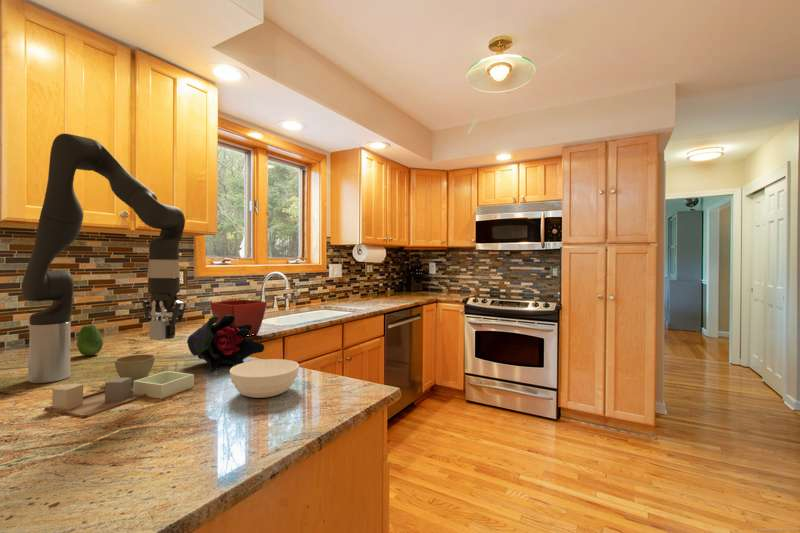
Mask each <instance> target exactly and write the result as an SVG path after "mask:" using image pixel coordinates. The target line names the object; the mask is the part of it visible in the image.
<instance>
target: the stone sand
mask: <svg viewBox="0 0 800 533" xmlns="http://www.w3.org/2000/svg"><path fill="white" fill-rule="evenodd" d="M51 391H52V401H51V403H52V404H51V406H52V408H56V409H62V410H70V409H73V408H75V407H78V406H81V405H83V396H84V384H80V383H79V384H78V383H67V384H63V385H61V386H58V387H55V388H52V390H51Z"/></svg>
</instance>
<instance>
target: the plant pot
mask: <svg viewBox="0 0 800 533" xmlns="http://www.w3.org/2000/svg"><path fill="white" fill-rule="evenodd" d="M210 308H211V313H212V316H214V315H215V314H216V315H217V316H218V317H219V318H218V320H216V322H215V323H214V324H216V323H217V322H219V321H220V320H221V319H222V317H223V316H224V315H233V316H235V318H234V321H233V322H232V324H231V326H243V325H250V326H252V328H251V330H249V334H248V335H252V334H257V335H258V334H259V331H260V329H261V326H262V323H263V320H264V316H265V312H266V308H267V301H262V300H261V301H260V300H252V299H238V300H237V299H236V300H234V299H233V300H225V301H222V300H221V301H214V302H210Z"/></svg>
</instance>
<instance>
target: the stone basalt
mask: <svg viewBox="0 0 800 533" xmlns="http://www.w3.org/2000/svg"><path fill="white" fill-rule="evenodd" d="M104 390H105V402H122V401H124V400H126V399H128V398H129V397H131V394H132V390H133V383H132V378H120V377H114V378H112V379H110V380H108V381H106V382H104Z"/></svg>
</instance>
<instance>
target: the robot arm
mask: <svg viewBox="0 0 800 533" xmlns="http://www.w3.org/2000/svg"><path fill="white" fill-rule="evenodd" d="M49 153H50V154H49V164H48V176H47V177H48V178H47V184H46V190H45V193H44V199H43V203H42V207H41V211H40V214H39V218H38V223H37V230H36V233H35V234H36V235H35V240H34V244H33V249H32V252H31V254H30V255H31V256H30V258H29V260H28V264H27V266H26V269H25V272H24V274H23V279H22V283H21V294H22V297H23V299H24V300H26V301H28V302H48V301H52V303H51V305H49V306H48V307H46V308H44V309H42V310H41V311H37V312H35V313H32V314H31V315H30V316H29V332H28V333H29V348H28V354H27V355H28V362H27V363H28V366H27V367H28V373H27V374H28V375H27V376H28V379H27V380H28V383H30V384H45V383H52V382H57V381H61V380H62V381H63V380H65V379H68V378H70V376H71V335H72V334H71V328H72V327H71V324H72V323H71V322H72V321H71V320H72V319H71V317H72V313H73V298H74V289H75V288H74V287H75V286H74V278H73V275H72V274H71V272H70V271H67V270H60V269H59V270H52V269H51V270H49V267H50V265H51V264H52V262H53V261H54V259H55V258H57V256H59V255H60V254H61V253H62V252H64V250H65V249H67V248H68V247H69V246H71V245H72V244H73V243H74V242H75V241H76V240H77V238H78V237H79V235H80V233H81V229H82V225H83V222H84V221H83V220H84V210H83V208H82V205H81V203H80V201H79V199H78V197H77V195H76V193H75V192H76V191H75V190H74V180H75V175H76V171H77V170H81V171H90V172H91V171H93V172H95V173H97V174H99V175H100V176H102V177H104V179H106V180H107V181H108V182H109V185H110V189H111V191H112V192H113V194H114V195H115V196H116V197H117V199H119V200H121V201H122V202H123V203H125V205H127V206H128V207H129V208H131V209H132V210H133V212H134V213H135V214H136V215H137V216H138V218H139V219H140V221H141V222H142V223H144V224H145V225H147V226H148V227H150V228H152V229H154V230H155V229H156V230H160V233H159V235H158V237H156V238H153V239H151V240H150V241H149V243H148V244H149V247H148V267H147V292H148V294H149V295H150V298H149V299H148V300H143V301H142V308H143V313H144V317H145V319H146V320H145V321H146V322H149V323H150V321H153V320H159V319H165V322H166V325H167V326H166V339H165V340H171V339H174V338H175V336H176V325H177V324H179V323H182V320H183V318H184V314H185V310H186V307H187V303H186V302H185V301H180V300H179V298H178V294H179V293H180V290H181V287H180V286H181V285H180V284H181V274H180V272H181V269H180V268H181V267H180V247H179V246H180V243H181V241H182V236H183V233H184V230H185V226H186V219H185V218H186V217H185V215H184V212H183V211H182V209H181V208H179V207H178V206H175V205H172V204H165V203H161V202H160V201H158V197H157V195H156V193H155V192H153V191H152V190H151V189H150V188H148V187H147V186H146V185H144V183H142V182H141V181H139V180H138V179H137V178H136V177H134V176H133V175H132V174H131V173H130V172H129V171H127V170H126V168H125V167H124V166H123V165H122V164H121V163H120V162H119V161H118V160H117V159H116V158H115V157H114V156H113V155H112V154H111V152H110V151H109V150H108V149H107V148H106V147H105V146H104V145H103V144H102V143H101V142H100V141H97V140H95V139H93V138H90V137H85V136H81V135H80V136H79V135H75V134H72V133H60V134H58V135H57V136H56V137H54V140H53V141H52V144H51V148H50V151H49Z"/></svg>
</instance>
